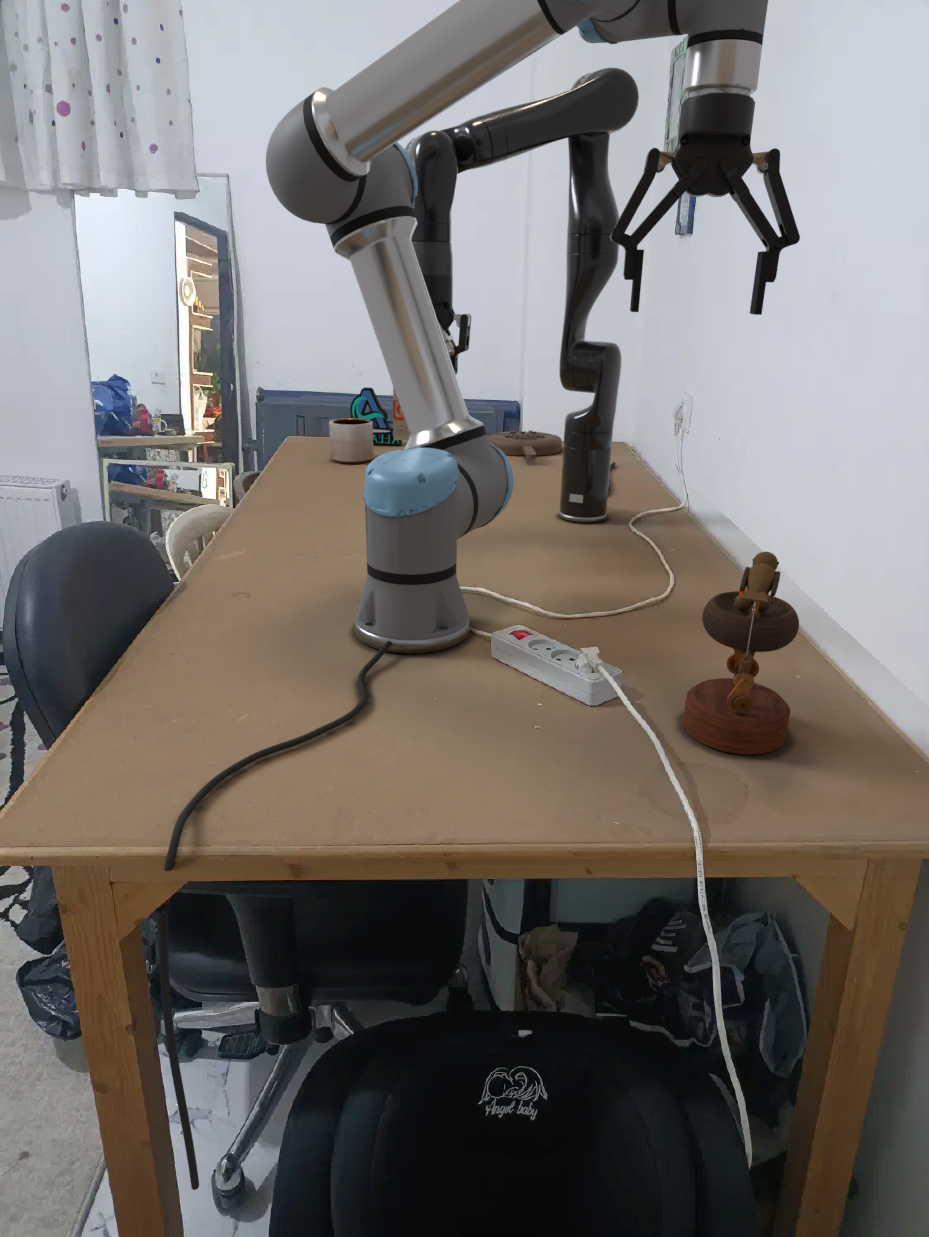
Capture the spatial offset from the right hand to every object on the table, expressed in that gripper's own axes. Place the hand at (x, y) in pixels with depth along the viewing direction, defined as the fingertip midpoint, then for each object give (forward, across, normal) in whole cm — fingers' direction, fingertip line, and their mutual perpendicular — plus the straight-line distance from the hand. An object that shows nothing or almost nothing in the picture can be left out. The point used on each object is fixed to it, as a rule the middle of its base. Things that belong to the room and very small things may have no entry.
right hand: (429, 377), depth 144 cm
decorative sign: (+28, +42, -77) cm, 92 cm away
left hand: (-13, -43, +37) cm, 58 cm away
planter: (+28, +38, -56) cm, 73 cm away
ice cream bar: (+28, -2, -78) cm, 83 cm away
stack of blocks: (+8, -2, +8) cm, 11 cm away
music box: (+28, -52, +58) cm, 83 cm away
